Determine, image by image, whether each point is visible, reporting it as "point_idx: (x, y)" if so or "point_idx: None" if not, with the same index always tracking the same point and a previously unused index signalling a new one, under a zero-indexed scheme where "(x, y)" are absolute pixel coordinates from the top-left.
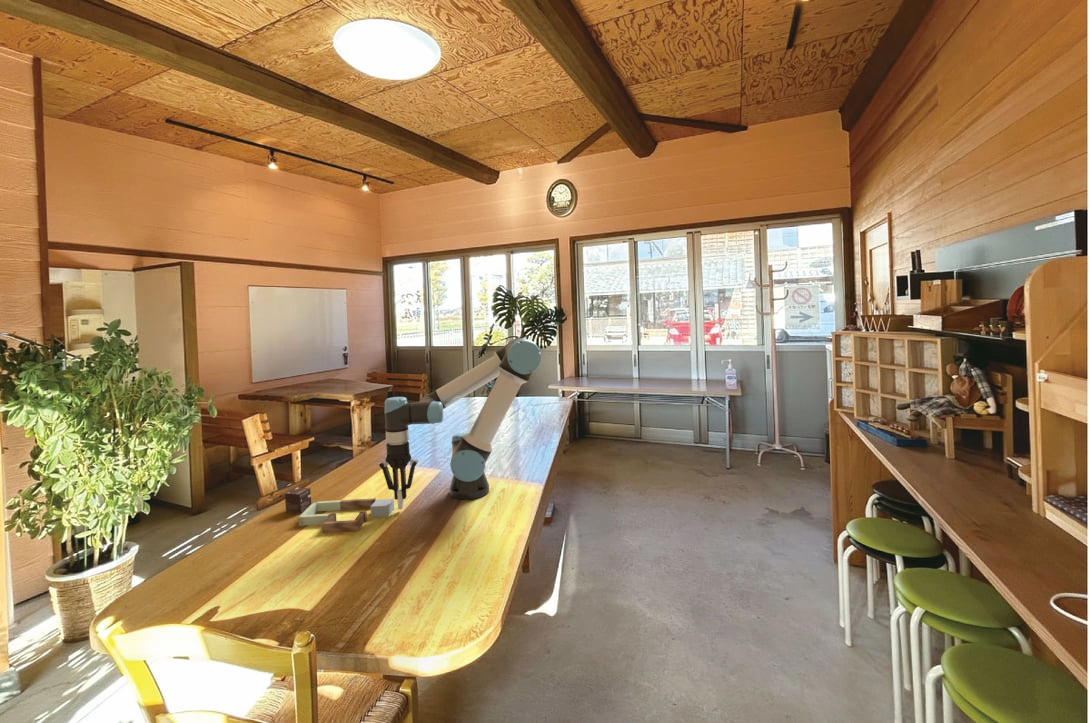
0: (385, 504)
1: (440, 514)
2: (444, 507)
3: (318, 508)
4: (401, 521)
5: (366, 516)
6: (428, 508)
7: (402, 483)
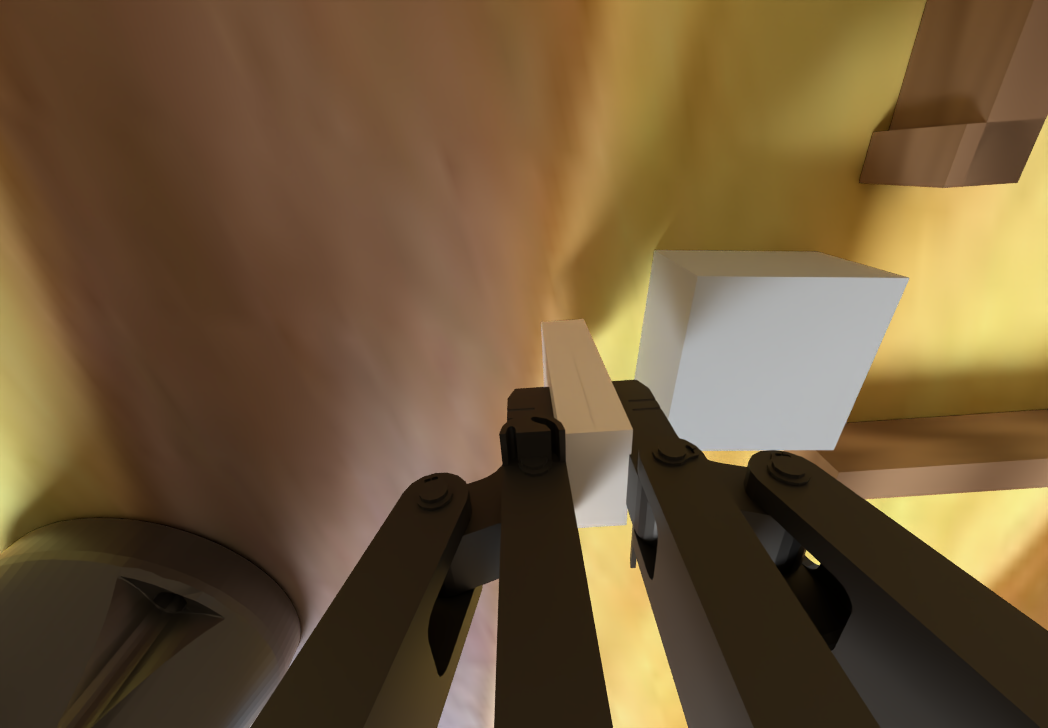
0: (734, 321)
1: (157, 258)
2: (206, 401)
3: None
4: (498, 109)
5: (898, 170)
6: (341, 391)
7: (550, 556)
